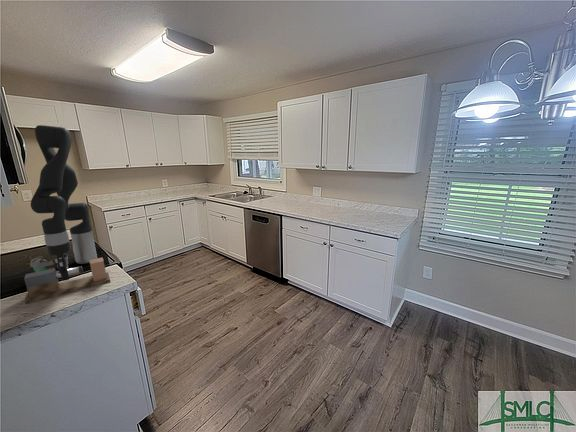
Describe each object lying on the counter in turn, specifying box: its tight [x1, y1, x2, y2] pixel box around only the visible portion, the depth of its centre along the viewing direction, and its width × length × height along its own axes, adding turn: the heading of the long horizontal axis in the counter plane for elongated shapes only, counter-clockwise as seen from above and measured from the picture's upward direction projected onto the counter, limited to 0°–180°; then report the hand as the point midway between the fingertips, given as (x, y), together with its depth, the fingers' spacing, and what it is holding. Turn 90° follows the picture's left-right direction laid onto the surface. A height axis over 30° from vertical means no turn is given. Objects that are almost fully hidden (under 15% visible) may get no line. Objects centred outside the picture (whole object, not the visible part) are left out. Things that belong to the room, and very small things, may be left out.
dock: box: [24, 271, 111, 305], centre depth 110 cm, size 28×10×6 cm, turn 130°
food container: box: [29, 255, 55, 272], centre depth 116 cm, size 12×6×10 cm, turn 62°
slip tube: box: [55, 265, 84, 279], centre depth 107 cm, size 17×3×3 cm, turn 130°
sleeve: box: [23, 267, 57, 289], centre depth 103 cm, size 9×5×4 cm, turn 130°
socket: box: [89, 257, 107, 281], centre depth 116 cm, size 5×5×9 cm
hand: (66, 278), depth 109 cm, fingers closed on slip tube, 3 cm apart
